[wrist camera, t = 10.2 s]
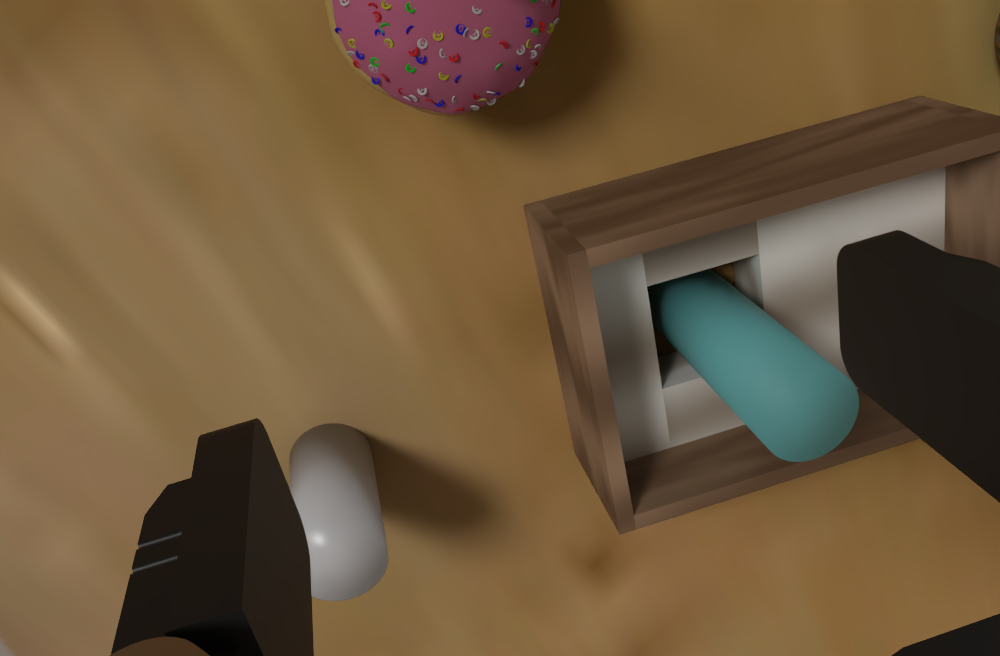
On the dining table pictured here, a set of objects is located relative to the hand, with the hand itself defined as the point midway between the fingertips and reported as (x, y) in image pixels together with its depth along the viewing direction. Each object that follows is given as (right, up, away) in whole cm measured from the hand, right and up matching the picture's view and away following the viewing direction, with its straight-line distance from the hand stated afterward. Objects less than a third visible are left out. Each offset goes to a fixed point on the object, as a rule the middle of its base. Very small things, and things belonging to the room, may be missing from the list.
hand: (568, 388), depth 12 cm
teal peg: (+8, +2, +32) cm, 33 cm away
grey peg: (-9, -6, +32) cm, 34 cm away
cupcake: (-4, +15, +24) cm, 28 cm away
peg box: (+11, +3, +33) cm, 35 cm away
